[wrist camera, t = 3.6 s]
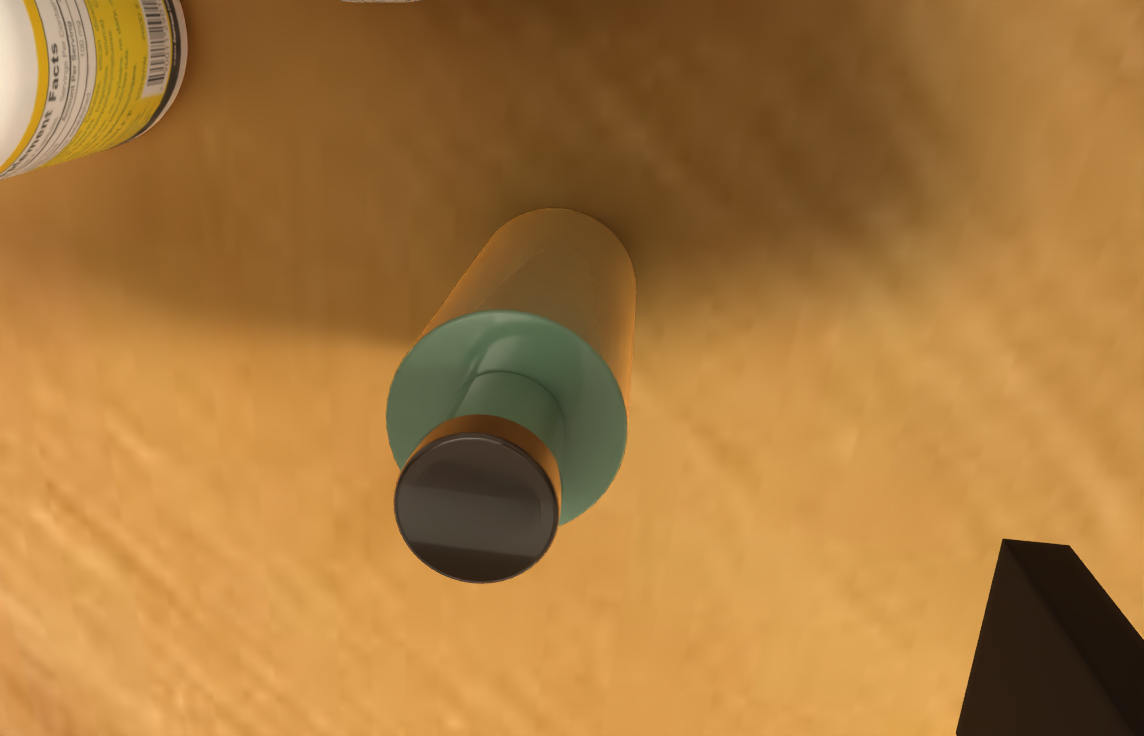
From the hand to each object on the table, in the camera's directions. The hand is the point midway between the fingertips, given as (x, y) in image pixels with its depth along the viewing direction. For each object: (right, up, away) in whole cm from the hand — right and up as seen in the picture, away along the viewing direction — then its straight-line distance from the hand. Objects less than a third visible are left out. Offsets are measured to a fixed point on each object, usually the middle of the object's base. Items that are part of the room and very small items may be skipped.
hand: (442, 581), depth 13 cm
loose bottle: (+1, +5, +13) cm, 14 cm away
